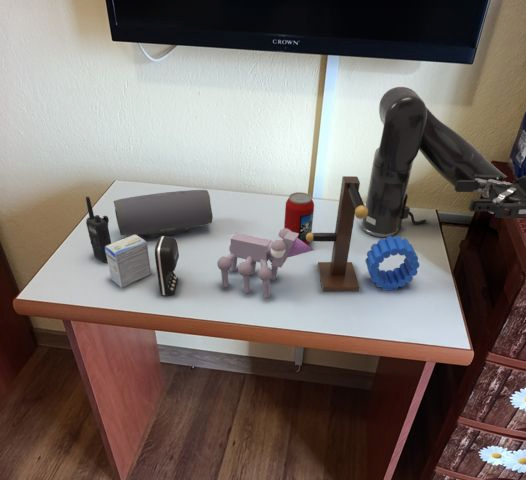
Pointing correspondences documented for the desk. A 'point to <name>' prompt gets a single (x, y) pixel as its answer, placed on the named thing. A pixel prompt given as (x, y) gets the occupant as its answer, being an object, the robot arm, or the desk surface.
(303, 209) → the beverage can
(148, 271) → the medicine box
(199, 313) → the desk surface
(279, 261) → the toy sheep
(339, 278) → the hook stand
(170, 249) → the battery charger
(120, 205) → the bluetooth speaker
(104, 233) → the two-way radio
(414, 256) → the ridged ring
